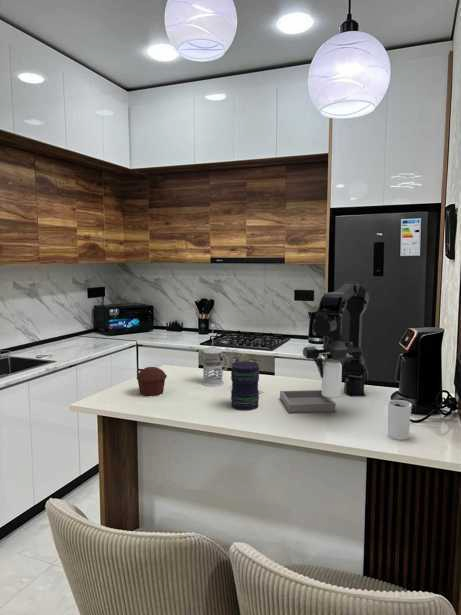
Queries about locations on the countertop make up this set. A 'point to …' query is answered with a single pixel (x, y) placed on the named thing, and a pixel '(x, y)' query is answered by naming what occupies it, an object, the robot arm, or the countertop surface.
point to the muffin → (151, 381)
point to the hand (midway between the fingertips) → (331, 377)
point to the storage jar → (245, 385)
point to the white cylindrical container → (399, 419)
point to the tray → (307, 401)
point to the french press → (213, 379)
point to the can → (331, 378)
